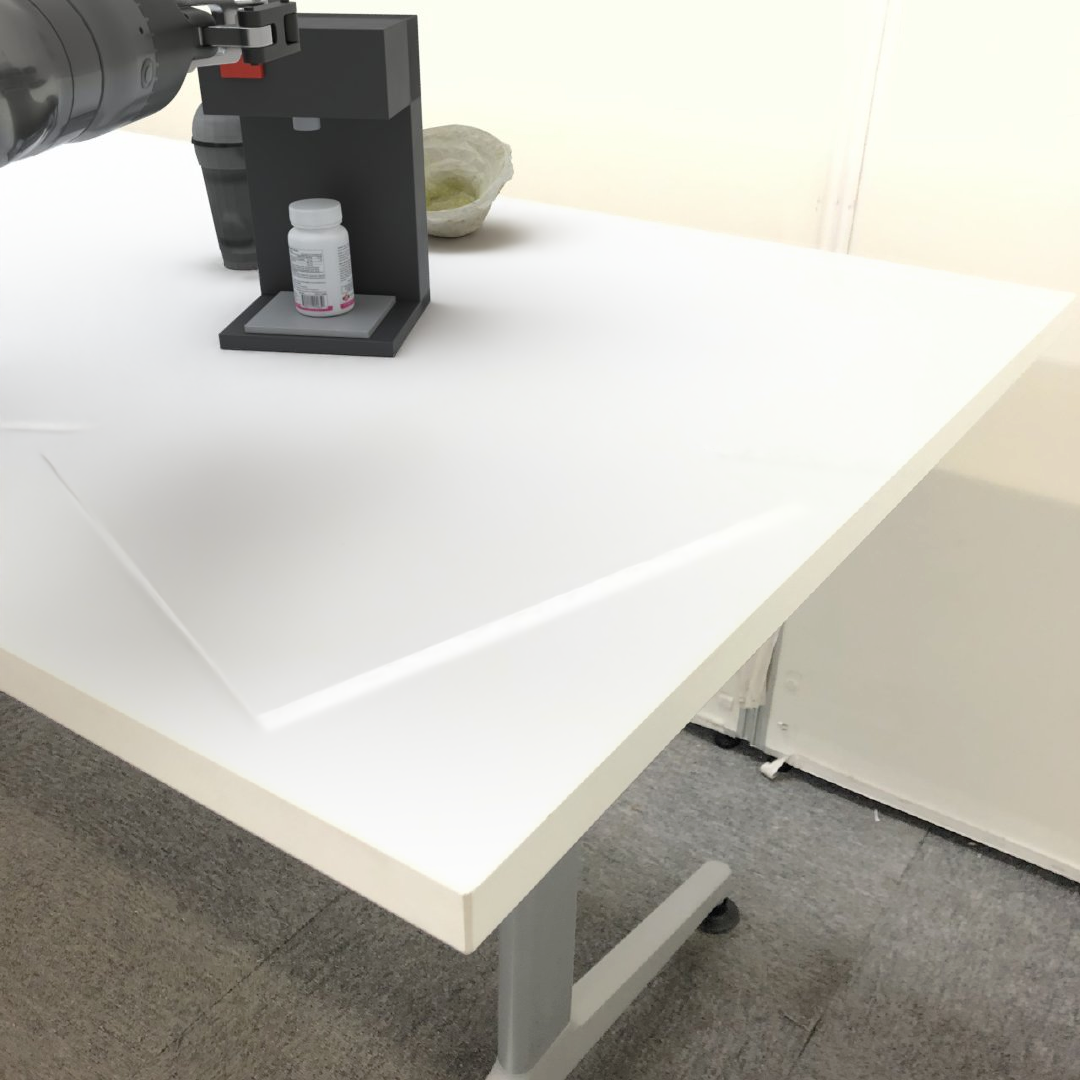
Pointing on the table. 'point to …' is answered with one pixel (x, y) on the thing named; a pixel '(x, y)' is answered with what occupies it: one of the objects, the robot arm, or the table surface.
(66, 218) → the table surface
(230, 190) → the beverage cup
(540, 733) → the table surface
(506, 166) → the bowl
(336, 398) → the table surface
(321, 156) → the coffee maker
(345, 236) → the pill bottle
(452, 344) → the table surface
